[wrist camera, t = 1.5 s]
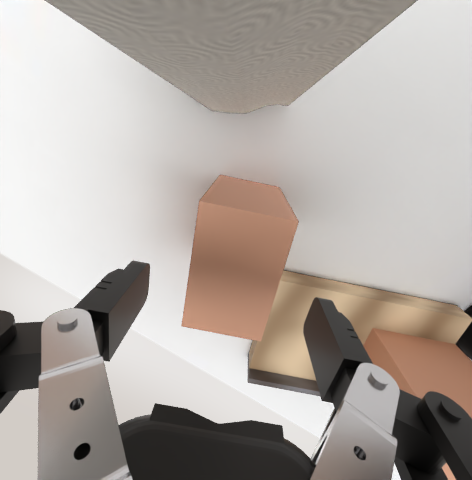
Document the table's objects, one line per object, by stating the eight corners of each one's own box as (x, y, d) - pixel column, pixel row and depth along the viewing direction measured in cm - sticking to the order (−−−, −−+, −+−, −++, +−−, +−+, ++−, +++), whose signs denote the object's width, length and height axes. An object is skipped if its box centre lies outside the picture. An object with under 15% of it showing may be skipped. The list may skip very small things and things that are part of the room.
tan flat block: (456, 305, 24) (485, 329, 21) (401, 386, 28) (418, 415, 25) (274, 268, 23) (277, 287, 20) (247, 357, 28) (247, 383, 25)
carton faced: (455, 344, 23) (568, 459, 15) (428, 380, 25) (515, 500, 17) (372, 327, 23) (441, 436, 15) (352, 366, 25) (402, 480, 17)
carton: (220, 174, 20) (199, 201, 12) (279, 187, 21) (299, 221, 12) (205, 259, 23) (181, 326, 15) (257, 269, 24) (261, 341, 15)
